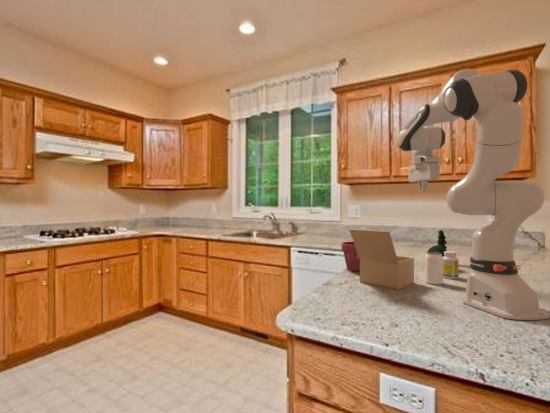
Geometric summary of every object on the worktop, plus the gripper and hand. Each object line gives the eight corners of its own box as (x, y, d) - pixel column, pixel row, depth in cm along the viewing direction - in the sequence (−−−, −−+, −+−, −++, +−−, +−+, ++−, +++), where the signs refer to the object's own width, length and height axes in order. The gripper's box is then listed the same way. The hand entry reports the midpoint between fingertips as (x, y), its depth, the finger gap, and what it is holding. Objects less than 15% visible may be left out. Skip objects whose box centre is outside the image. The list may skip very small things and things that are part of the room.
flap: (350, 228, 125) (349, 229, 125) (389, 231, 114) (388, 232, 113) (359, 257, 130) (359, 258, 130) (398, 262, 119) (397, 263, 119)
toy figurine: (431, 265, 174) (424, 269, 153) (432, 229, 175) (425, 229, 154) (451, 267, 168) (446, 271, 148) (452, 230, 170) (447, 230, 149)
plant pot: (335, 268, 158) (335, 242, 158) (358, 265, 164) (358, 240, 164) (354, 274, 145) (354, 245, 145) (378, 271, 151) (378, 243, 151)
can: (445, 285, 125) (445, 254, 125) (427, 284, 126) (427, 254, 126) (440, 281, 132) (440, 252, 131) (423, 280, 133) (423, 251, 133)
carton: (376, 276, 140) (377, 253, 140) (413, 283, 129) (414, 258, 129) (359, 282, 130) (359, 257, 130) (398, 289, 119) (398, 262, 119)
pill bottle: (454, 276, 141) (454, 250, 140) (461, 279, 134) (461, 253, 134) (439, 275, 141) (439, 250, 141) (445, 279, 135) (445, 252, 135)
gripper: (404, 163, 155) (404, 192, 155) (428, 157, 134) (428, 190, 134) (417, 163, 155) (417, 192, 155) (442, 157, 135) (442, 190, 135)
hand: (422, 191), depth 145 cm, fingers closed
